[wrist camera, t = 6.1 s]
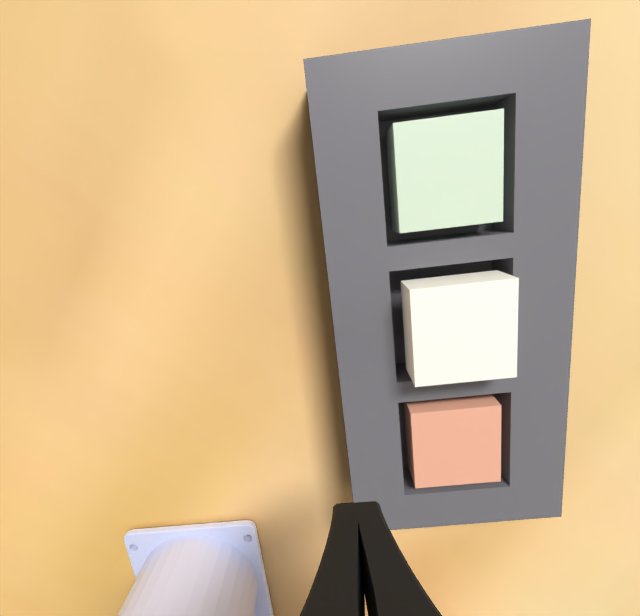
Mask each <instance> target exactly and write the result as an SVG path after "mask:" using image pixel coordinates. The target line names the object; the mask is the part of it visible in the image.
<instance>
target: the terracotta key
mask: <svg viewBox="0 0 640 616" xmlns="http://www.w3.org/2000/svg"><path fill="white" fill-rule="evenodd" d="M403 403H404V418H405V433H406V448H407V463H408V467H409V470H410V473H411V476H412V479H413V483H414V486H415V488H427V487H439V486H450V485H462V484H474V483H486V482H498V481H501V404H500V403H499V402H498V401H497V400H496V398H495V397H494V396H493V395H492V394H486V395H476V396H465V397H455V398H444V399H434V400H423V401H413V402H403Z"/></svg>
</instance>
